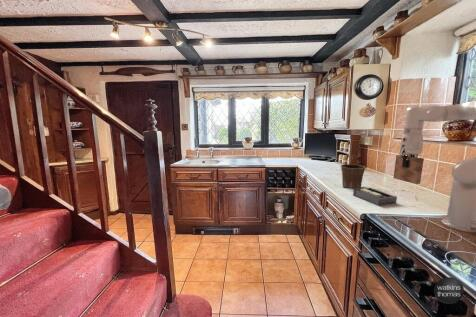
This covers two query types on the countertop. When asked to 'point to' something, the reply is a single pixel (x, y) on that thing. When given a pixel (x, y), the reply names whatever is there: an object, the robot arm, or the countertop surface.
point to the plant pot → (352, 175)
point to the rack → (383, 200)
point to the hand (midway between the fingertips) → (408, 166)
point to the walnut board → (409, 170)
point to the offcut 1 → (365, 191)
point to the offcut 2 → (375, 194)
